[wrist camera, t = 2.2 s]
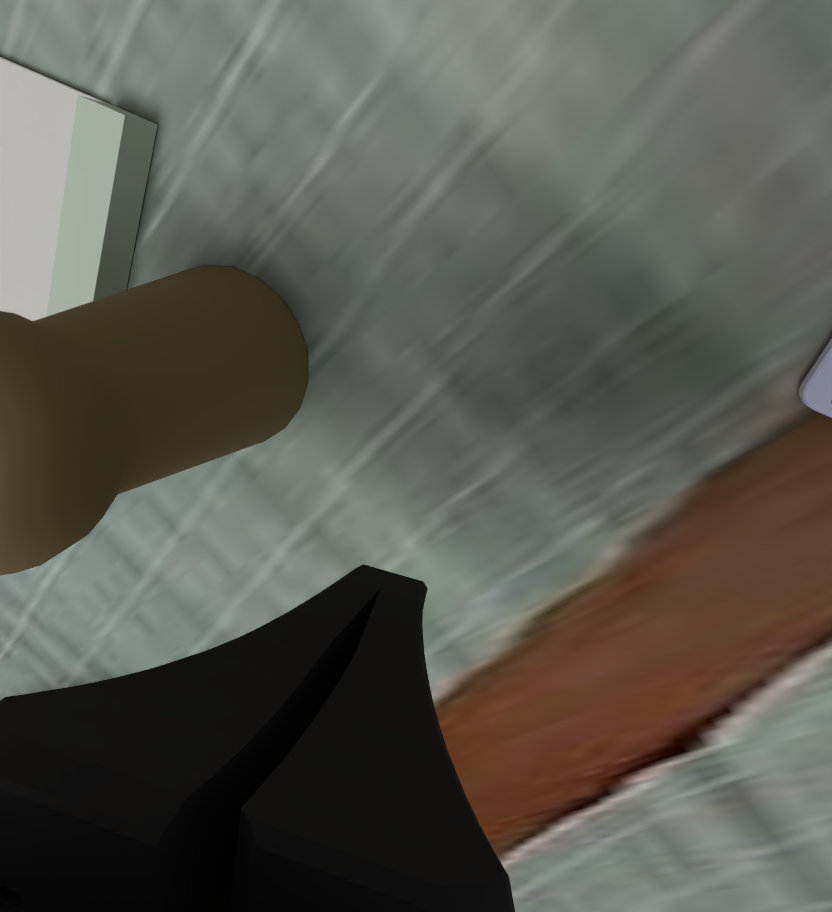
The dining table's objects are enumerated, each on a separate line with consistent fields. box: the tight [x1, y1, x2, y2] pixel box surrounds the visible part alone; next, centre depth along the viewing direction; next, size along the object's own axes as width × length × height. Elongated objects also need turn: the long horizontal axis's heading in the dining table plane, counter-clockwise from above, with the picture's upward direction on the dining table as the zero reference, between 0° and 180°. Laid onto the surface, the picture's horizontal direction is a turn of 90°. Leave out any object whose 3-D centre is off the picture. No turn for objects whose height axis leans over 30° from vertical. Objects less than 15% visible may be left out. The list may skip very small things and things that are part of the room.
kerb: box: [46, 95, 158, 317], centre depth 20 cm, size 2×12×2 cm, turn 158°
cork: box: [0, 265, 308, 575], centre depth 15 cm, size 6×6×11 cm
